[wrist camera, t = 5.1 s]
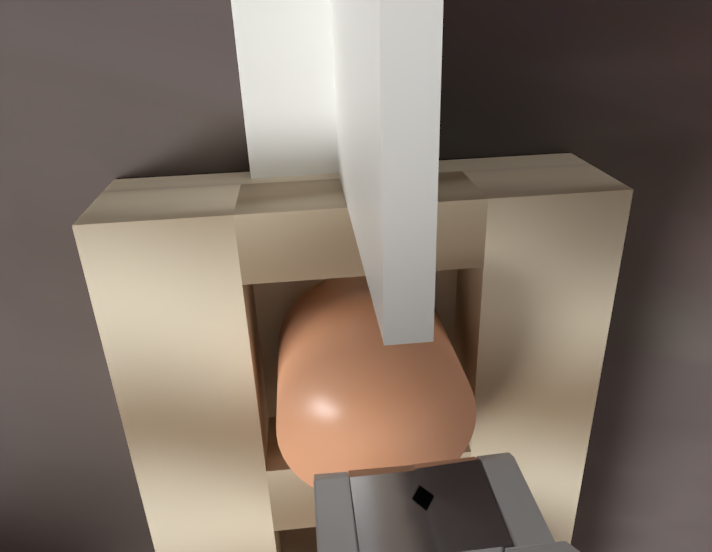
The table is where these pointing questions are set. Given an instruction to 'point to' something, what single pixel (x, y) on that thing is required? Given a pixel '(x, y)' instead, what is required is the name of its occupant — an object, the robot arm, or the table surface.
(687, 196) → the table surface
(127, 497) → the table surface
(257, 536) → the wooden egg tray
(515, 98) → the table surface
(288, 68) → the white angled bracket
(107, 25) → the table surface
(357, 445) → the button
